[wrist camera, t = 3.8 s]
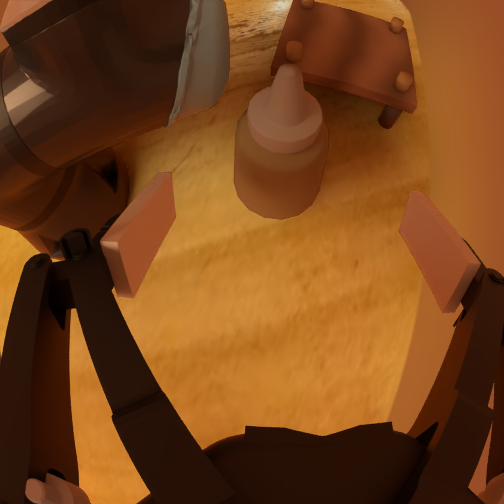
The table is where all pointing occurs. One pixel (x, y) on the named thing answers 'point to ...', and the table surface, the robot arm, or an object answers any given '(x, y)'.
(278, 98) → the squeeze bottle
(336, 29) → the walnut stand
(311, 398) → the table surface
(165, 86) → the robot arm
